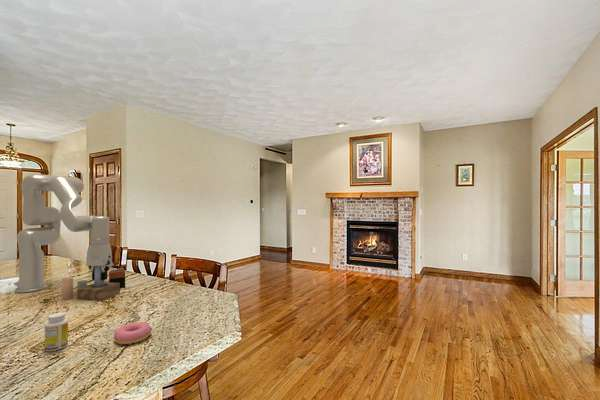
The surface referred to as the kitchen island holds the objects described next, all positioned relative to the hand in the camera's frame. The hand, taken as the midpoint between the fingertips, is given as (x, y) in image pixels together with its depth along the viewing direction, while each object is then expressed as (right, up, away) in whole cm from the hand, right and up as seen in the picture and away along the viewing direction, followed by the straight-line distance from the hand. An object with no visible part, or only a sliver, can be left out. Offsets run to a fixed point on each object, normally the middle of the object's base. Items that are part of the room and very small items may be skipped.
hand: (99, 279), depth 141 cm
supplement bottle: (+21, -8, -50) cm, 55 cm away
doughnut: (+41, -8, -43) cm, 60 cm away
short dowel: (-12, -8, +4) cm, 15 cm away
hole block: (0, -8, 0) cm, 8 cm away
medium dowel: (-13, -8, -4) cm, 15 cm away
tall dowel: (0, -6, 0) cm, 6 cm away
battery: (0, -8, +14) cm, 16 cm away
